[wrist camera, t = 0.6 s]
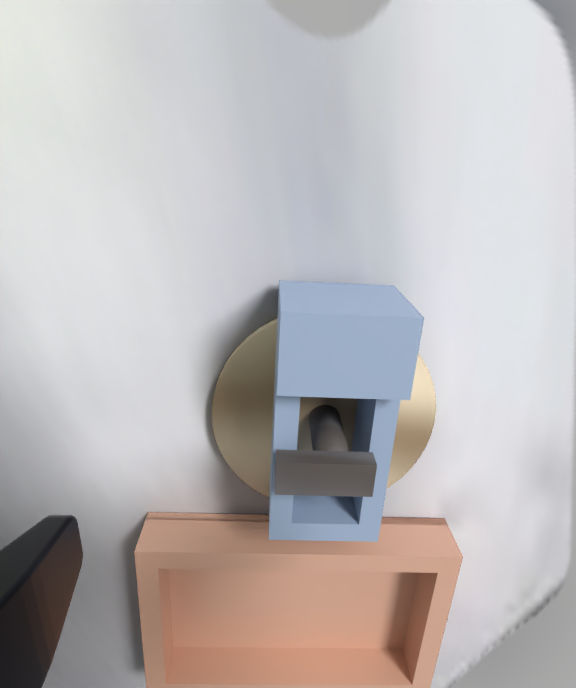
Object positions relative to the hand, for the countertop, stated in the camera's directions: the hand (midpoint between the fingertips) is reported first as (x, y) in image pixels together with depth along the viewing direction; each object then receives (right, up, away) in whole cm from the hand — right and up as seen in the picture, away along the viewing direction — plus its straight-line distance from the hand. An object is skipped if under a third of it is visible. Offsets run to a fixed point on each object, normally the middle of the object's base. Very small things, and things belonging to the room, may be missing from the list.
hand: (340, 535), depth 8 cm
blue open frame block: (+1, +1, +12) cm, 13 cm away
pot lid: (+1, 0, +13) cm, 13 cm away
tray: (-1, -10, +17) cm, 20 cm away
